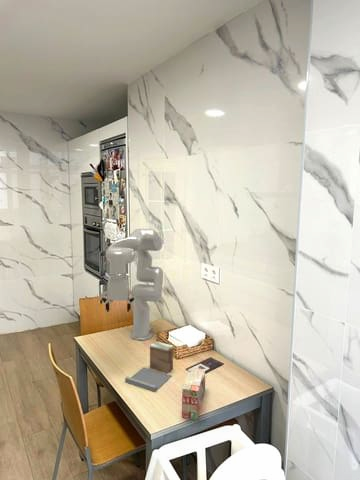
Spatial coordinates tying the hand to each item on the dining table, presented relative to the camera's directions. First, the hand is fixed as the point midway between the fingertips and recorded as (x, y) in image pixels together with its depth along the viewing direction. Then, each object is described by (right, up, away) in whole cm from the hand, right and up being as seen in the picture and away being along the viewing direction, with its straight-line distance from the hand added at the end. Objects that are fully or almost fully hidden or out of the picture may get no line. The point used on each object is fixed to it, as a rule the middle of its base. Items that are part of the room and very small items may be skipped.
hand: (118, 311), depth 166 cm
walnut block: (+21, -29, +2) cm, 35 cm away
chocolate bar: (+42, -29, +5) cm, 52 cm away
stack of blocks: (+36, -33, -24) cm, 54 cm away
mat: (+16, -30, -6) cm, 34 cm away
